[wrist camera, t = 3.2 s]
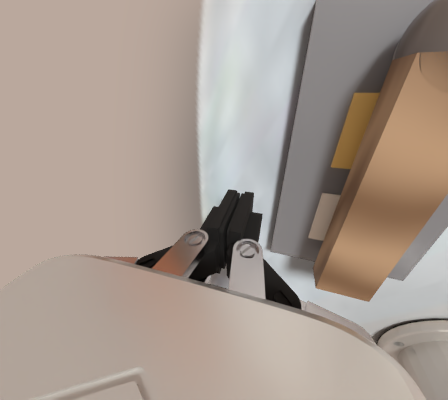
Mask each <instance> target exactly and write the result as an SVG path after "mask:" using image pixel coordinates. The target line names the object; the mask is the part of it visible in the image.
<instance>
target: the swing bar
mask: <svg viewBox="0 0 448 400" xmlns="http://www.w3.org/2000/svg"><path fill="white" fill-rule="evenodd" d="M447 194H448V0H434V1H433V2H432V3H430V4H429V5H428V6H427V7H426V8H425V9H423V10H422V11H421V12H420V13H419V14H418V16H417V17H416V18H415V19H414V20H413V21H412V23H411V24H410V25H409V27H408V28H407V30H406V31H405V33H404V34H403V36H402V38H401V40H400V42H399V44H398V47H397V50H396V53H395V58H394V60H392V62H391V65H390V68H389V70H388V73H387V75H386V78H385V81H384V83H383V86H382V89H381V91H380V94H379V96H378V99H377V102H376V104H375V107H374V110H373V112H372V115H371V117H370V120H369V123H368V125H367V128H366V130H365V133H364V136H363V138H362V141H361V144H360V146H359V149H358V151H357V154H356V157H355V159H354V162H353V165H352V167H351V170H350V172H349V175H348V178H347V180H346V183H345V185H344V188H343V191H342V193H341V196H340V199H339V201H338V204H337V206H336V209H335V212H334V214H333V217H332V220H331V222H330V225H329V227H328V230H327V233H326V235H325V238H324V241H323V243H322V246H321V248H320V251H319V254H318V256H317V259H316V261H315V264H314V267H313V271H314V279H315V286H316V288H317V289H321V290H325V291H329V292H333V293H337V294H341V295H344V296H348V297H352V298H356V299H360V300H364V301H368V302H369V301H370V299H371V298H372V297H373V295H374V294H375V293H376V291H377V290H378V289H379V287H380V286H381V284H382V283H383V282H384V280H385V279H386V278H387V276H388V275H389V273H390V272H391V271H392V269H393V268H394V267H395V265H396V264H397V263H398V261H399V260H400V258H401V257H402V256H403V254H404V253H405V252H406V250H407V249H408V247H409V246H410V245H411V243H412V242H413V241H414V239H415V238H416V237H417V235H418V234H419V232H420V231H421V230H422V228H423V227H424V226H425V224H426V223H427V221H428V220H429V219H430V217H431V216H432V215H433V213H434V212H435V211H436V209H437V208H438V206H439V205H440V204H441V202H442V201H443V200H444V198H445V197H446V195H447Z"/></svg>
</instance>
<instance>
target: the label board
mask: <svg viewBox="0 0 448 400" xmlns="http://www.w3.org/2000/svg"><path fill="white" fill-rule="evenodd" d="M433 1H434V0H316V3H315V9H314V14H313V20H312V25H311V31H310V36H309V42H308V47H307V53H306V58H305V64H304V69H303V74H302V80H301V85H300V91H299V96H298V102H297V107H296V113H295V118H294V124H293V129H292V135H291V140H290V146H289V151H288V157H287V162H286V167H285V173H284V178H283V184H282V189H281V195H280V200H279V206H278V211H277V217H276V222H275V228H274V233H273V239H272V244H271V252H275V253H279V254H284V255H288V256H293V257H297V258H302V259H306V260H311V261H316V259H317V256H318V254H319V251H320V248H321V246H322V243H323V241H324V238H325V235H326V233H327V230H328V227H329V225H330V222H331V220H332V217H333V214H334V212H335V209H336V206H337V204H338V201H339V199H340V196H341V193H342V191H343V188H344V185H345V183H346V180H347V178H348V175H349V172H350V170H351V167H352V165H353V162H354V159H355V157H356V154H357V151H358V149H359V146H360V144H361V141H362V138H363V136H364V133H365V130H366V128H367V125H368V123H369V120H370V117H371V115H372V112H373V110H374V107H375V104H376V102H377V99H378V96H379V94H380V91H381V89H382V86H383V83H384V81H385V78H386V75H387V73H388V70H389V68H390V65H391V62H392V60H394V58H395V53H396V50H397V47H398V44H399V42H400V40H401V38H402V36H403V34H404V33H405V31H406V30H407V28H408V27H409V25H410V24H411V23H412V21H413V20H414V19H415V18H416V17H417V16H418V14H419V13H420V12H421V11H422V10H423V9H425V8H426V7H427V6H428V5H429V4H430V3H432V2H433ZM447 227H448V194H447V195H446V197H445V198H444V200H443V201H442V202H441V204H440V205H439V206H438V208H437V209H436V211H435V212H434V213H433V215H432V216H431V217H430V219H429V220H428V221H427V223H426V224H425V226H424V227H423V228H422V230H421V231H420V232H419V234H418V235H417V237H416V238H415V239H414V241H413V242H412V243H411V245H410V246H409V247H408V249H407V250H406V252H405V253H404V254H403V256H402V257H401V258H400V260H399V261H398V263H397V264H396V265H395V267H394V268H393V269H392V271H391V272H390V273H389V275H388V276H387V277H388V278H392V279H397V280H402V281H403V280H404V279H405V278H406V277H407V276H408V274H409V273H410V272H411V271H412V269H413V268H414V267H415V266H416V265H417V263H418V262H419V261H420V260H421V258H422V257H423V256H424V255H425V254H426V252H427V251H428V250H429V249H430V247H431V246H432V245H433V244H434V243H435V241H436V240H437V239H438V238H439V236H440V235H441V234H442V233H443V232H444V230H445V229H446V228H447Z"/></svg>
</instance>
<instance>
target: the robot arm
mask: <svg viewBox="0 0 448 400" xmlns="http://www.w3.org/2000/svg"><path fill="white" fill-rule="evenodd" d="M253 198H254V193H251V192H245V194H243V193H242V194H241V197H240V193H237V191H236V190H228V191H227V193H226V195H225V197H224V198H223V200H222V202H221V204H220V206H219V207H215V206H214V207H213V208H212V210H211V212H210V213H209V215H208V217H207V218H206V220H205V222H204V223H203V225H202V227H201V228H200V229H193V230H190V231H188V232H186V233H185V234H184V235H183V236H182V237H181V238H180V239H179V240H178V241H177V242H176V243H175V244H174V245H173V246H171V247H168V248H165V249H163V250H160V251H157V252H154V253H152V254H149V255H146V256H144V257H142V258H140V259H138V257H107V256H106V257H101V256H94V255H66V256H59V257H55V258H51V259H48V260H46V261H43V262H42V263H40V264H38V265H36V266H35V267H33V268H32V269H30V270H28V271H26V272H25V273H23V274H22V275H21V276H19V277H18V278H16V279H15V280H13V281H12V282H10V283H9V284H7V285H6V286H4V287H3V288H2V289H0V400H448V320H434V321H421V322H414V323H408V324H405V325H401V326H398V327H395V328H393V329H391V330H389V331H387V332H386V333H384V334H383V335H382V336H381V338H380V339H379V340H378V344H377V345H376V344H375V342H374V340H373V338H372V337H371V335H370V334H369V333H368V332H367V331H366V330H365V329H364V328H362V327H361V326H359V325H358V324H356V323H354V322H352V321H350V320H348V319H345V318H343V317H341V316H339V315H337V314H335V313H333V312H330V311H328V310H326V309H324V308H322V307H320V306H318V305H316V304H313V303H311V302H309V301H307V303H306V302H304V301H302V300H299V298H298V296H297V295H296V294H295V292H294V291H293V290H292V289H291V288H290V287H289V286H288V285H287V284H286V283H285V282H284V280H283V279H282V278H281V277H280V276H279V275H278V274H277V273H276V272H275V271H274V270H273V268H272V267H271V266H270V265H269V264H268V263H267V262H266V261H265V260H264V259H263V251H262V247H261V246H260V244H259V243H258V240H259V235H260V228H261V221H262V214H260V213H253V212H252V208H253ZM226 263H227V276H228V278H229V288H228V289H226V288H222V287H218V286H215V285H211V284H208V283H209V281H210V279H211V275H212V274H214V273H219V274H220V271H221V268H223V269H224V268H225V266H226Z"/></svg>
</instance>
